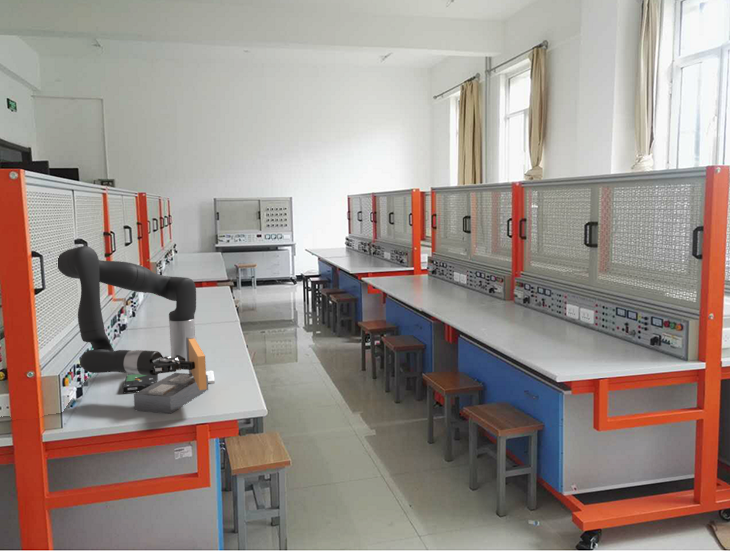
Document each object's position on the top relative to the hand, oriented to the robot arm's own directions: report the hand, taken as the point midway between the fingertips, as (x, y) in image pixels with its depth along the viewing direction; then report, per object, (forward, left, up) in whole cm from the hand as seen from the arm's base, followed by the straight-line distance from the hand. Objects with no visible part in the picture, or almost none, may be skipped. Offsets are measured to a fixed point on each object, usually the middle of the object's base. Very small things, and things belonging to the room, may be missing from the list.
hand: (193, 365), depth 175 cm
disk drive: (-13, -28, -13) cm, 33 cm away
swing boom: (-5, -2, -5) cm, 7 cm away
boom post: (-14, -9, -12) cm, 21 cm away
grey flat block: (-2, -9, -12) cm, 15 cm away
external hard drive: (-23, -11, -13) cm, 29 cm away
